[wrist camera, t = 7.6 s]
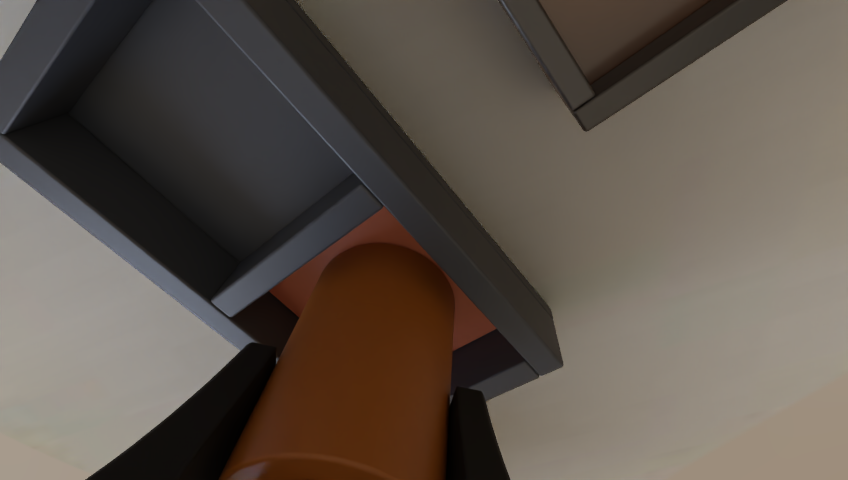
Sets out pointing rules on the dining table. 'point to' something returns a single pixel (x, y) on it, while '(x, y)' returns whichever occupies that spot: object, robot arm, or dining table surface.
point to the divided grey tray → (247, 170)
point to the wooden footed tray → (623, 44)
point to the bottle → (359, 377)
